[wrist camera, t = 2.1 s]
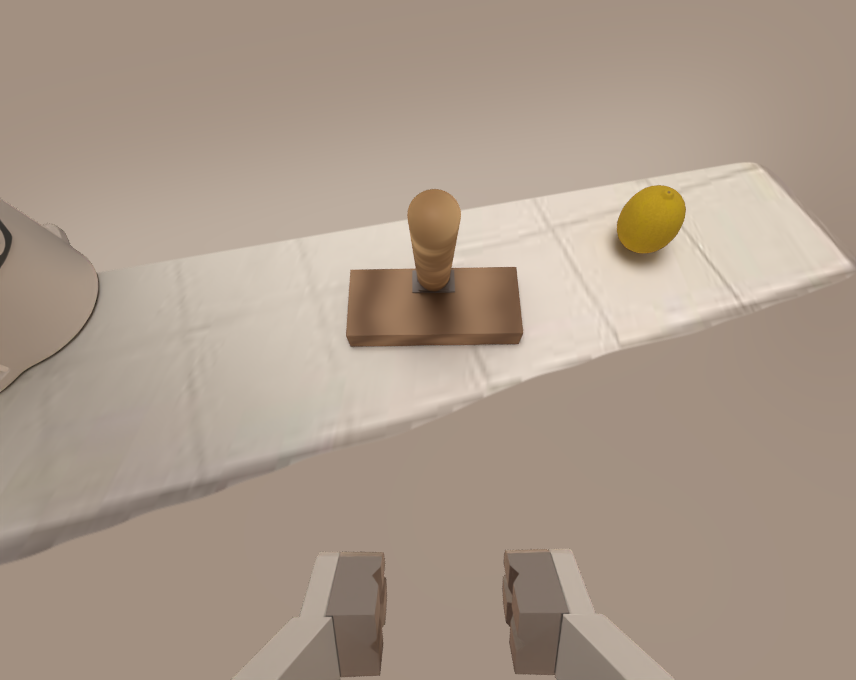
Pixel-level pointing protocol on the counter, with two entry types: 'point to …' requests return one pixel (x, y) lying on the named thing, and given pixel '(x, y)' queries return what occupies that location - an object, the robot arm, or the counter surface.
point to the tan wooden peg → (433, 237)
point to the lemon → (651, 219)
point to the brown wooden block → (434, 308)
